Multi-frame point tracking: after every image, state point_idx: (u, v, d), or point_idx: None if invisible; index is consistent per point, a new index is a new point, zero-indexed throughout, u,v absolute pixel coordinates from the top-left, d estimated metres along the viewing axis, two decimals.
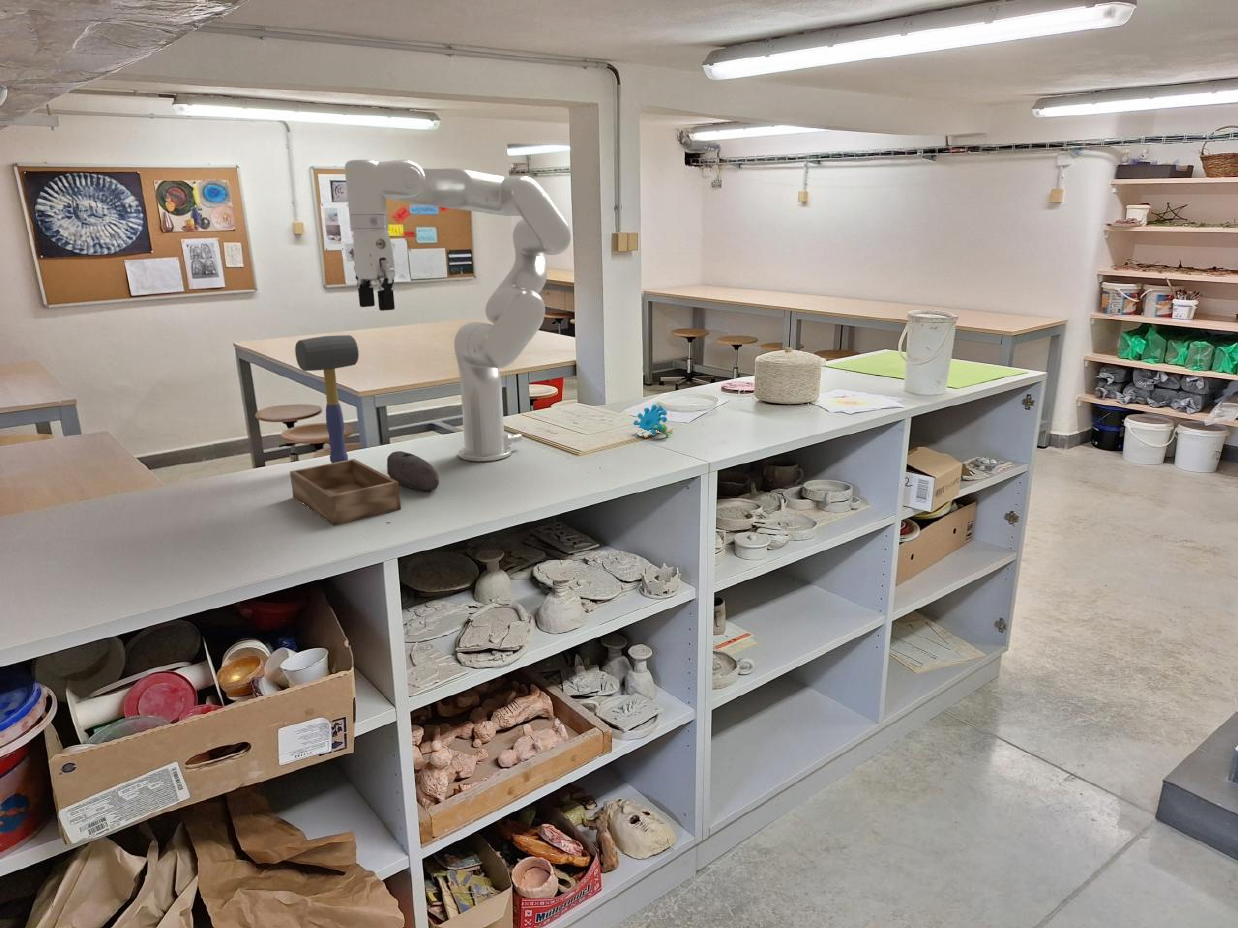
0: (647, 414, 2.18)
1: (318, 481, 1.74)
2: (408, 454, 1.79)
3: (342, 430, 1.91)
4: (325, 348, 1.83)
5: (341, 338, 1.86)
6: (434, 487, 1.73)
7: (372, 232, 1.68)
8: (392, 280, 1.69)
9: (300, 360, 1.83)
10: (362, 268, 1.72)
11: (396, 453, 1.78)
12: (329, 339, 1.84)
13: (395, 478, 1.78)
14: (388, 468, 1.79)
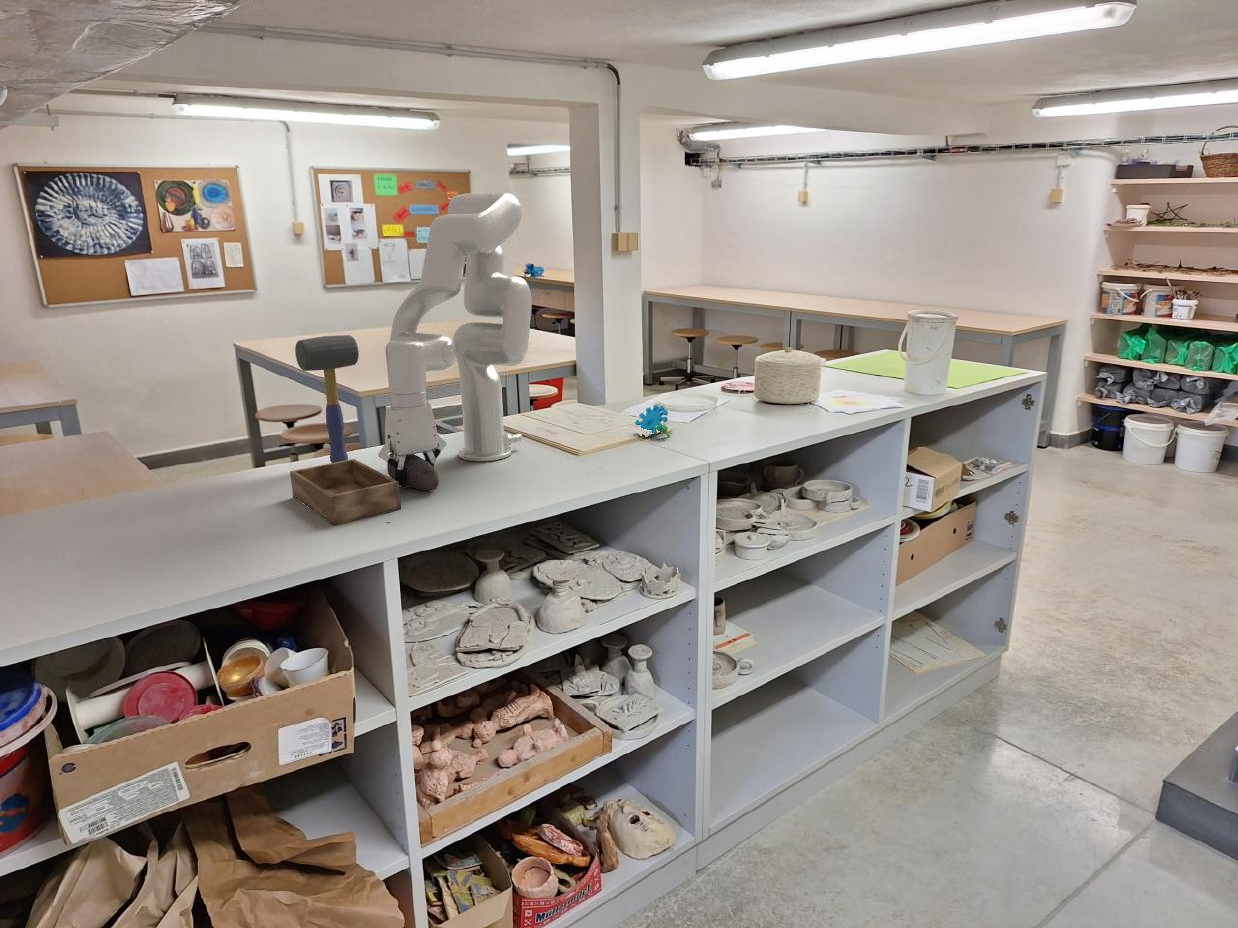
0: (649, 414, 2.18)
1: (318, 481, 1.74)
2: None
3: (342, 430, 1.91)
4: (325, 348, 1.83)
5: (341, 338, 1.86)
6: (434, 487, 1.73)
7: (430, 405, 1.74)
8: None
9: (300, 360, 1.83)
10: (417, 443, 1.73)
11: None
12: (329, 339, 1.84)
13: (395, 477, 1.78)
14: (388, 467, 1.79)
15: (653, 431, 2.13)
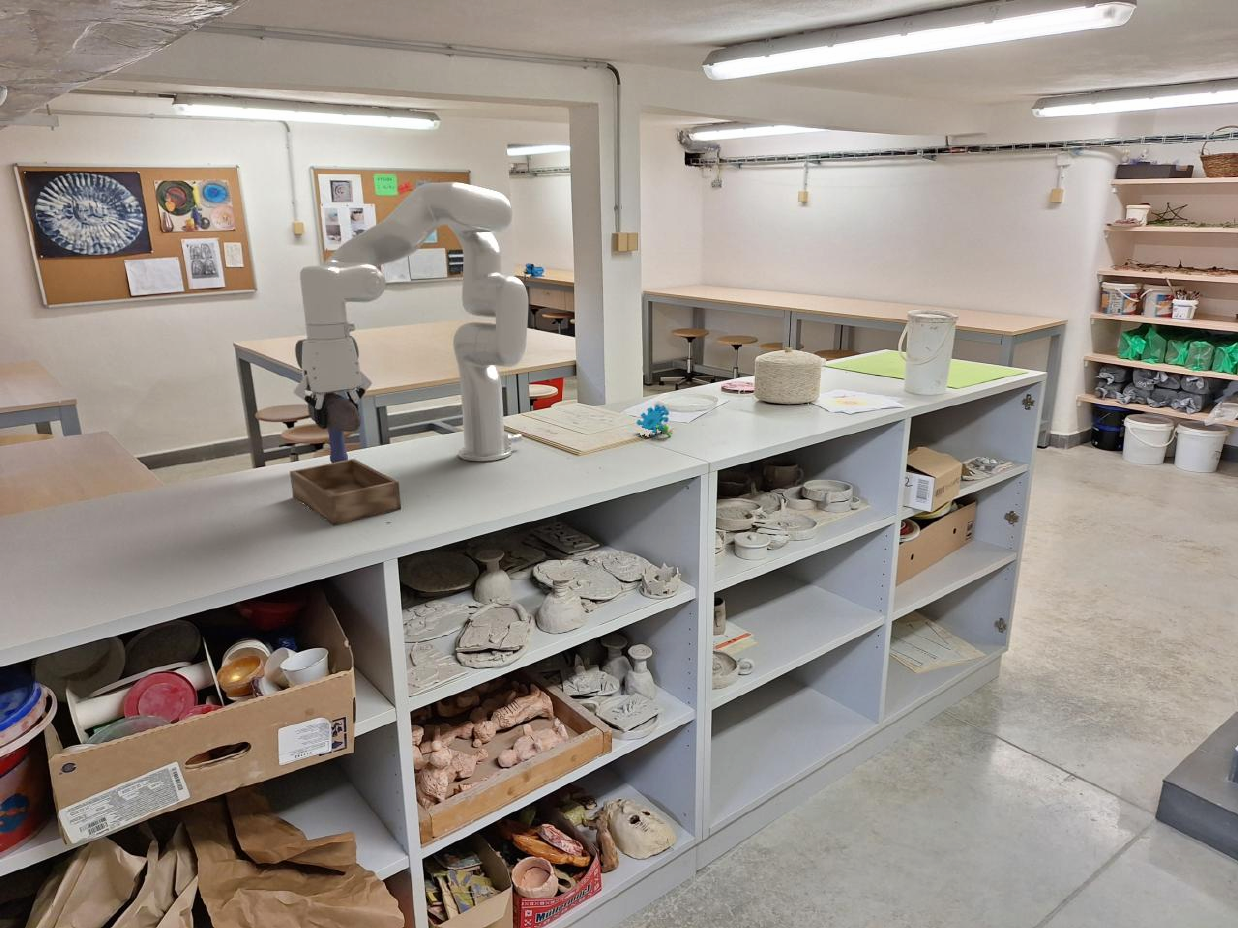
0: (650, 414, 2.18)
1: (318, 481, 1.74)
2: (330, 393, 1.65)
3: None
4: None
5: None
6: (355, 427, 1.59)
7: None
8: None
9: (300, 360, 1.83)
10: (337, 379, 1.59)
11: None
12: None
13: None
14: (309, 408, 1.65)
15: (653, 431, 2.13)
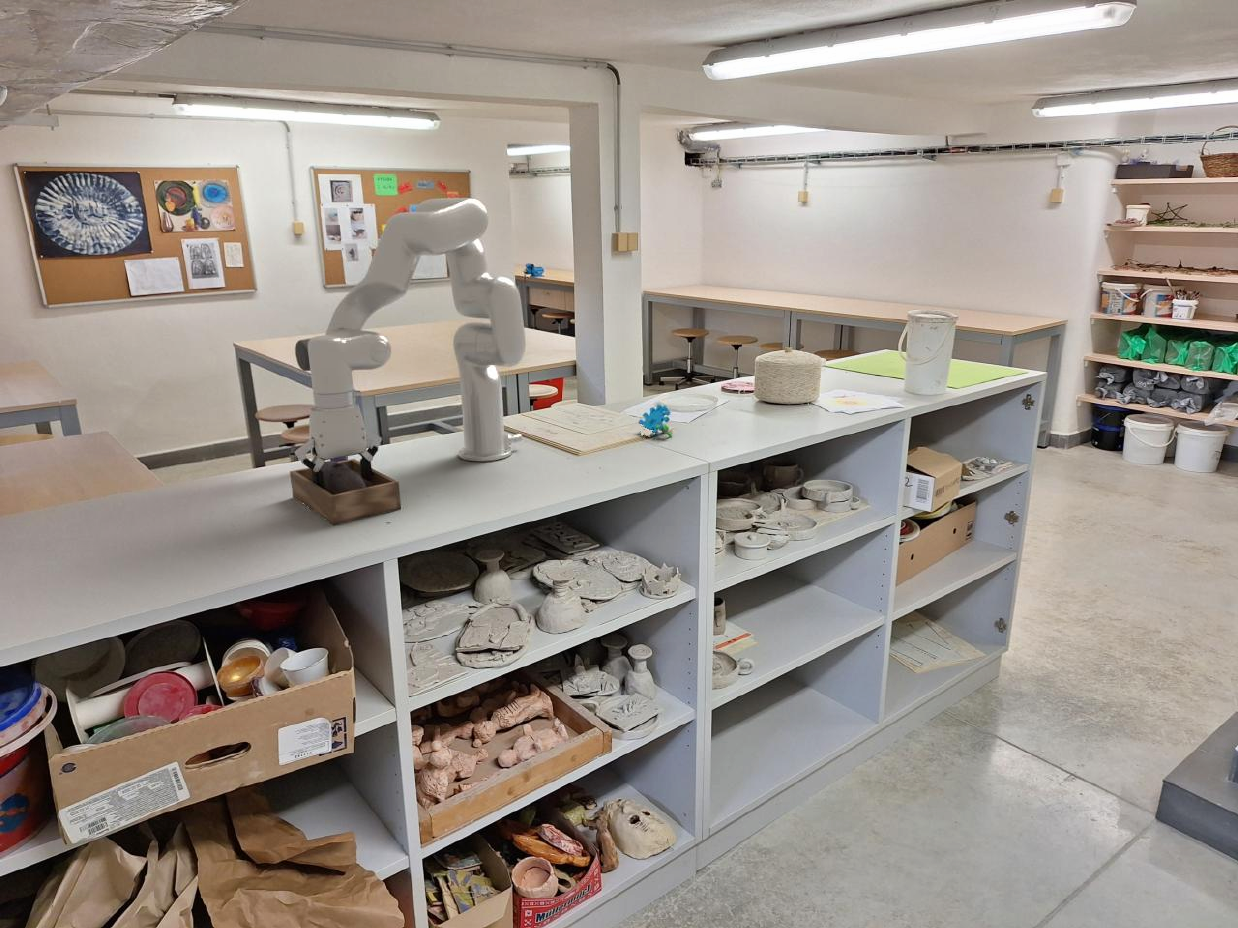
0: (652, 413, 2.18)
1: None
2: (339, 464, 1.69)
3: None
4: None
5: None
6: None
7: (358, 405, 1.64)
8: None
9: (300, 360, 1.83)
10: (344, 445, 1.63)
11: (326, 463, 1.69)
12: None
13: (325, 489, 1.69)
14: None
15: (654, 431, 2.13)
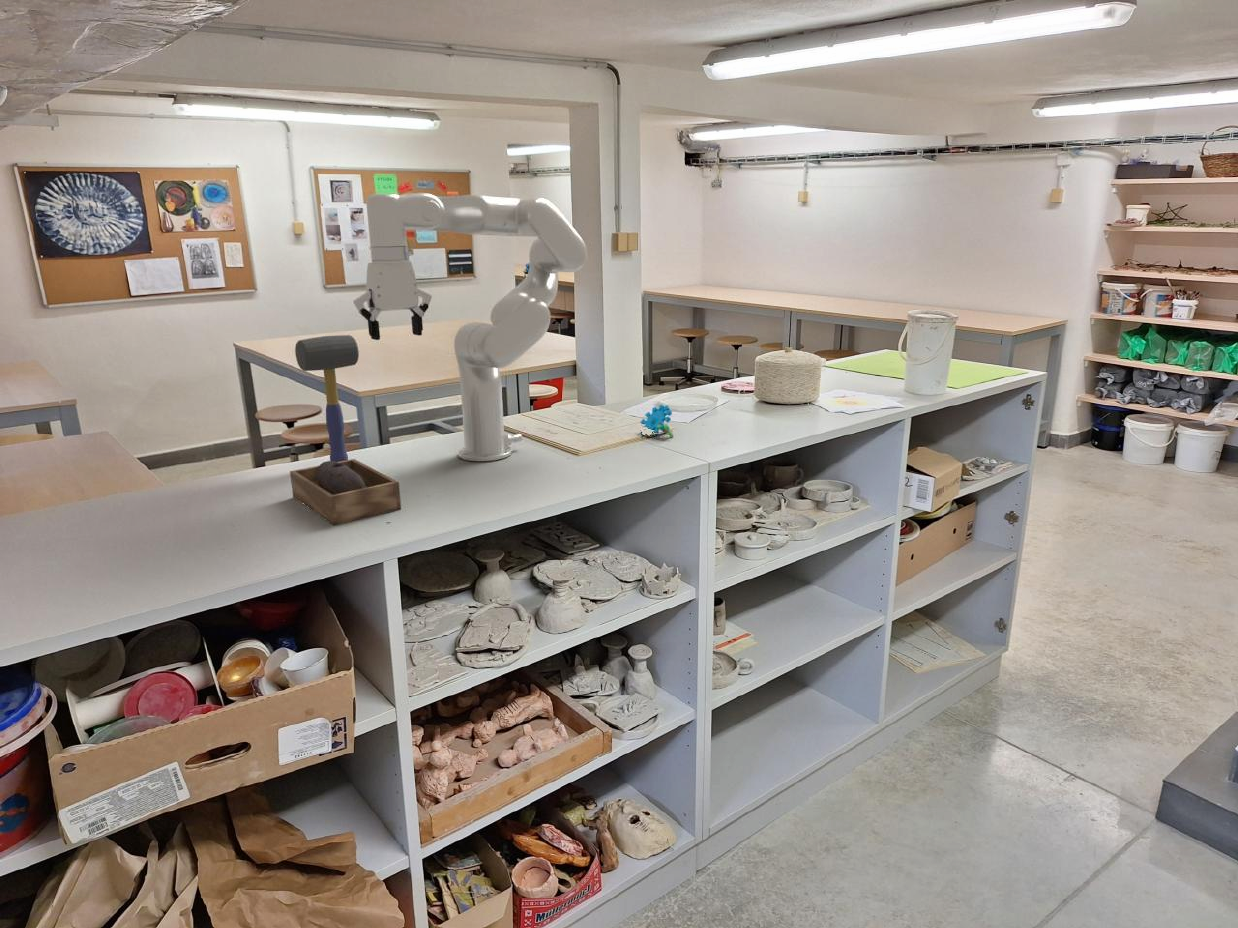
0: (654, 413, 2.18)
1: None
2: (339, 464, 1.69)
3: (342, 430, 1.91)
4: (325, 348, 1.83)
5: (341, 338, 1.86)
6: None
7: None
8: None
9: (300, 360, 1.83)
10: (398, 298, 1.76)
11: (326, 463, 1.69)
12: (329, 339, 1.84)
13: (325, 489, 1.69)
14: (318, 479, 1.70)
15: (655, 431, 2.13)
